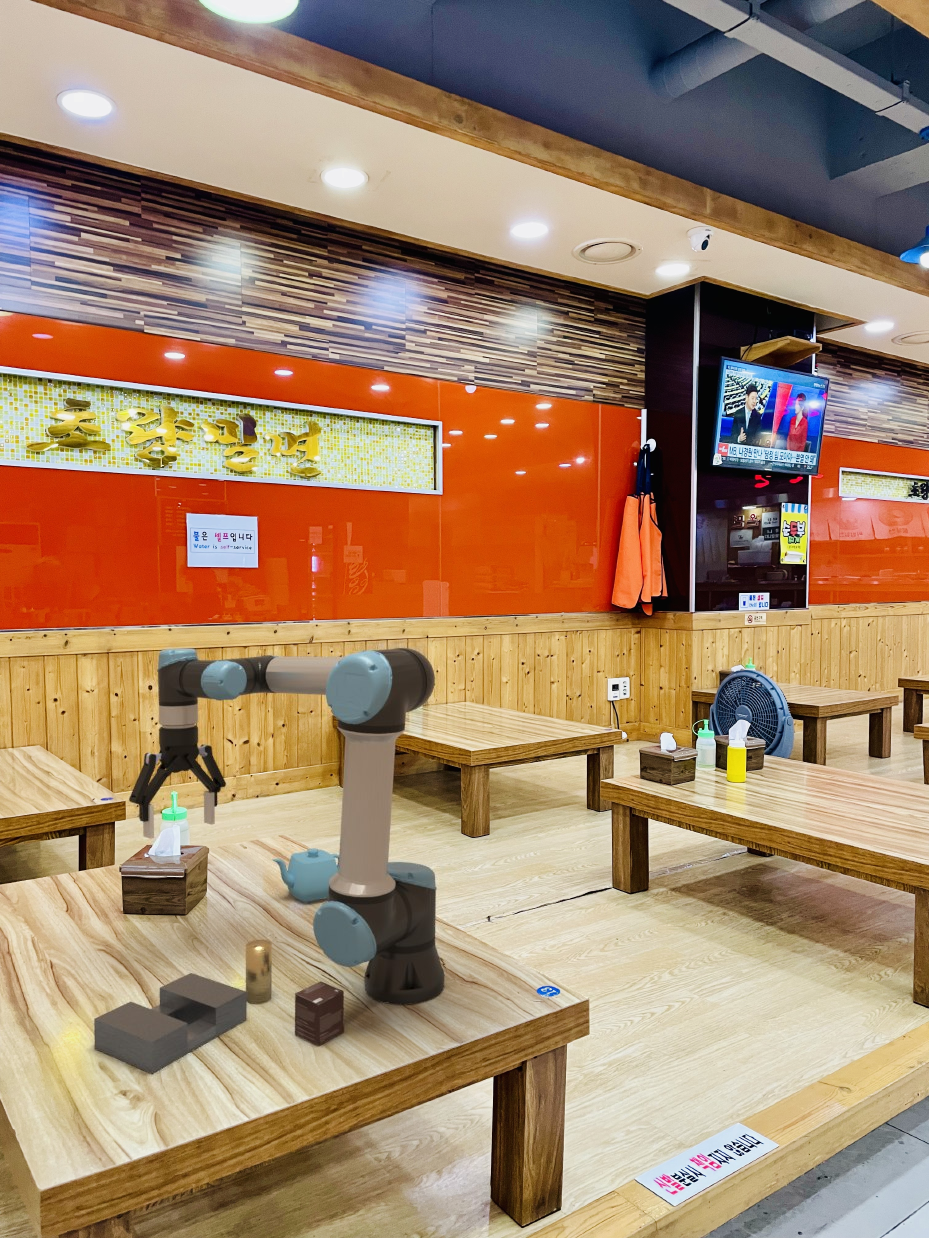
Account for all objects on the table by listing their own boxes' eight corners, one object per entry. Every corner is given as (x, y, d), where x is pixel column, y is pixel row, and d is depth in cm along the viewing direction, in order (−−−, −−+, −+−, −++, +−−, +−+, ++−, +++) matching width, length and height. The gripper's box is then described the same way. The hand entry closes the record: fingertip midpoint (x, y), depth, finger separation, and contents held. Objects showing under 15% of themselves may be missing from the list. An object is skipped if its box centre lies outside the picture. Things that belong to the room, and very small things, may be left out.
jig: (246, 1019, 152) (246, 991, 152) (151, 1073, 135) (151, 1042, 134) (191, 999, 159) (190, 972, 159) (94, 1048, 142) (94, 1018, 142)
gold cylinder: (276, 996, 161) (276, 942, 160) (258, 1006, 157) (258, 951, 156) (258, 990, 163) (258, 937, 163) (240, 1000, 159) (240, 946, 159)
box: (321, 1021, 151) (321, 980, 151) (345, 1033, 147) (345, 990, 147) (293, 1035, 147) (293, 992, 146) (317, 1047, 143) (317, 1003, 143)
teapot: (263, 895, 213) (263, 849, 213) (332, 883, 223) (332, 838, 222) (280, 911, 203) (280, 863, 202) (351, 897, 212) (352, 851, 212)
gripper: (221, 716, 187) (222, 814, 188) (109, 730, 168) (111, 839, 169) (242, 720, 182) (243, 820, 183) (129, 734, 163) (131, 847, 164)
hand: (179, 830), depth 176 cm, fingers open, 13 cm apart
